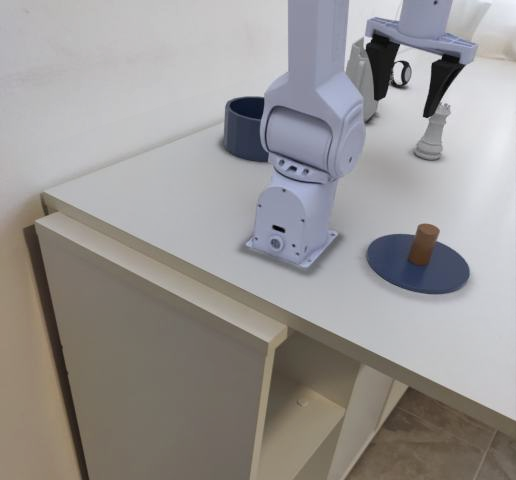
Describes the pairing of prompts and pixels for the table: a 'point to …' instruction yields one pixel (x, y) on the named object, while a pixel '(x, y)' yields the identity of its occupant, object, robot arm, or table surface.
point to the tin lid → (418, 261)
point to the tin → (244, 128)
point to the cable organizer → (362, 77)
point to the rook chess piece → (433, 134)
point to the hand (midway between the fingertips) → (403, 106)
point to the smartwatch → (402, 74)
